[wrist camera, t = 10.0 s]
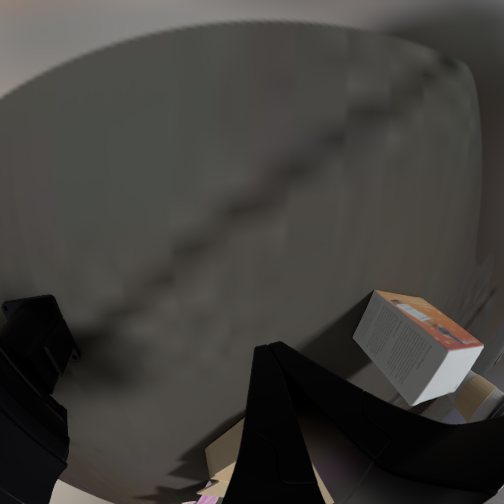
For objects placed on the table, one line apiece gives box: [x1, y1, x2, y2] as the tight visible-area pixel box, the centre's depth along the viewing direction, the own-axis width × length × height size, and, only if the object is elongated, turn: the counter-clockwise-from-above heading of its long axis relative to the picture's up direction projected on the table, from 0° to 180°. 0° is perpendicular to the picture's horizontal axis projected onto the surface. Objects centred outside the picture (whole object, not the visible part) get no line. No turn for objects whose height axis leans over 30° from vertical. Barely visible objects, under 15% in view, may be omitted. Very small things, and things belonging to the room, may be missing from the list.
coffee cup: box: [447, 370, 504, 423], centre depth 31 cm, size 9×9×15 cm
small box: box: [353, 290, 484, 406], centre depth 21 cm, size 8×6×10 cm
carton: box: [197, 417, 312, 497], centre depth 26 cm, size 11×22×5 cm, turn 140°
